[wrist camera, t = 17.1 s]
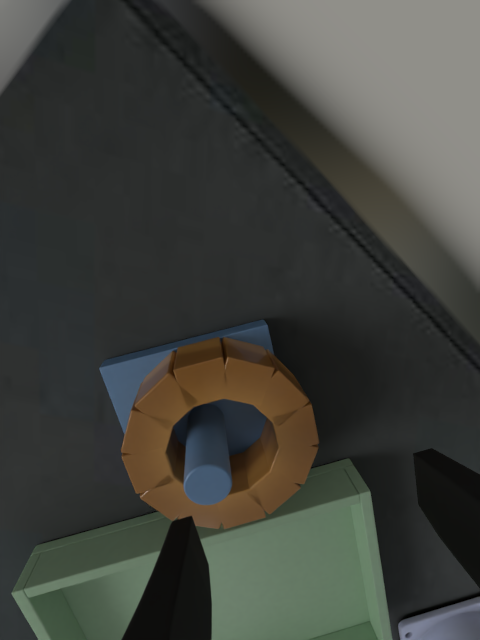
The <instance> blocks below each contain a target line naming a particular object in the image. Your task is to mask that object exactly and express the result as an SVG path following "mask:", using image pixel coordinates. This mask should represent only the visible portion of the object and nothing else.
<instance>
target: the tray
mask: <svg viewBox="0 0 480 640" xmlns="http://www.w3.org/2000/svg"><path fill="white" fill-rule="evenodd" d="M300 486H301V488H300V489H299V490H298V491H297V492H296V493H295V494H294V495H292V496H291V497H290V498H289V499H288V500H287V501H285V502H284V503H283V504H282V505H281V506H280V507H278V508H277V509H276V510H275V511H274V512H272V513H271V514H268V513H267V512H266V511H265V515H266V517H265V518H262V519H259V520H255V521H252V522H248V523H245V524H241V525H238V526H234V527H231V528H227V529H224V528H223V525H222V523H221V526H220V528H219V529H214V528H207V527H200V526H196V529H197V532H198V535H199V538H200V540H201V543H202V546H203V549H204V552H205V555H206V558H207V561H208V564H209V573H210V585H211V598H212V640H392V634H391V627H390V620H389V613H388V607H387V600H386V593H385V587H384V580H383V573H382V566H381V560H380V553H379V546H378V539H377V533H376V526H375V519H374V512H373V506H372V499H371V492H370V490H369V488H368V487H367V485H366V484H365V482H364V481H363V479H362V477H361V476H360V474H359V473H358V471H357V470H356V468H355V467H354V465H353V463H352V462H351V460H350V459H349V458H348V459H344V460H341V461H337V462H333V463H330V464H326V465H323V466H319V467H316V468H312V469H310V471H309V474H308V476H307V479H306V481H305V484H300ZM175 520H177V518H176V519H175ZM171 523H172V521H171V520H170V519H169V518H167V517H166V516H164V515H163V514H162V513H160V512H159V511H158V512H154V513H151V514H147V515H144V516H140V517H136V518H133V519H129V520H126V521H122V522H119V523H115V524H111V525H108V526H104V527H101V528H97V529H93V530H90V531H86V532H83V533H79V534H76V535H72V536H68V537H65V538H61V539H58V540H54V541H50V542H47V543H43V544H40V545H37V546H35V548H34V550H33V552H32V554H31V556H30V558H29V560H28V562H27V564H26V566H25V568H24V570H23V572H22V574H21V576H20V578H19V579H18V581H17V583H16V585H15V587H14V589H13V591H12V595H13V597H14V599H15V600H16V602H17V604H18V606H19V607H20V609H21V611H22V612H23V614H24V616H25V617H26V619H27V621H28V622H29V624H30V626H31V628H32V629H33V631H34V633H35V634H36V636H37V638H38V639H39V640H121V639H122V637H123V635H124V633H125V631H126V629H127V627H128V625H129V623H130V621H131V618H132V616H133V614H134V612H135V610H136V608H137V606H138V604H139V601H140V599H141V597H142V595H143V592H144V590H145V588H146V585H147V583H148V581H149V578H150V576H151V574H152V571H153V569H154V566H155V564H156V561H157V559H158V556H159V554H160V551H161V548H162V546H163V543H164V540H165V538H166V535H167V532H168V529H169V527H170V524H171Z"/></svg>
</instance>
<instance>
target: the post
mask: <svg viewBox="0 0 480 640" xmlns="http://www.w3.org/2000/svg"><path fill="white" fill-rule="evenodd" d="M216 337H219V338H220V341H221V343H222V340H223V337H227V338H231V339H235V340H239V341H243V342H247V343H251V344H255V345H259V346H263V347H264V349H265V350H266V349H268V350H269V351H270V352H271V353H272V354H273V355H274V352H273V347H272V343H271V338H270V334H269V329H268V325H267V324H266V322H265V321H264V320H259V321H255V322H251V323H247V324H243V325H240V326H236V327H232V328H228V329H224V330H220V331H216V332H212V333H208V334H204V335H201V336H197V337H193V338H189V339H185V340H181V341H177V342H173V343H169V344H166V345H162V346H158V347H154V348H150V349H146V350H142V351H138V352H134V353H131V354H127V355H123V356H119V357H115V358H111V359H107V360H105V361H104V362H103V363H102V365H101V366H100V368H99V369H100V372H101V374H102V377H103V379H104V382H105V385H106V387H107V390H108V392H109V395H110V398H111V400H112V403H113V405H114V408H115V411H116V413H117V416H118V418H119V421H120V424H121V426H122V429H123V431H124V434H125V431H126V427H127V423H128V419H129V415H130V411H131V408H132V406H133V403H134V400H135V398H136V395H137V392H138V390H139V387H140V384H141V383H142V382H143V380H144V378H145V377H146V376H147V375H148V374H149V373H150V372H151V371H152V370H153V369H154V368H155V367H156V366H157V365H158V364H159V363H160V362H161V361H162V360H163V359H164V358H165V357H167V356H168V355H169V354H170V353H171V352H172V351H175V352H176V353H177V348H178V347H182V346H185V345H189V344H193V343H197V342H201V341H205V340H208V339H212V338H216ZM266 419H267V417H266V416H265V415H264V414H263V413H261V412H260V411H259V410H258V409H257V408H256V407H255V406H254V405H251V404H247V403H242V402H237V401H233V400H228V399H221V400H218V401H214V402H210V403H207V404H203V405H199V406H195V407H193V408H192V409H191V410H190V411H189V412H188V413H187V414H186V415H185V416H184V417H182V418H181V419H180V420H179V421H178V422H177V423H176V424H175V425H174V426H173V427H174V430H175V433H176V436H177V439H178V441H179V442H180V443H182V444H183V445H184V446H185V447H186V454H185V470H184V485H183V486H184V491H185V494H186V495H187V497H188V498H189V499H190V500H191V501H193V502H194V503H197V504H200V505H213V504H216V503H218V502H220V501H222V500H223V499H225V498H226V497H227V495H228V494H229V492H230V490H231V488H232V476H231V468H230V460H229V456H231V455H235V454H238V453H242V452H244V451H245V450H246V449H248V448H249V447H250V446H251V445H252V444H253V443H254V442H255V441H257V440H258V439H259V438H260V436H261V433H262V430H263V428H264V425H265V422H266Z"/></svg>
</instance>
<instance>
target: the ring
mask: <svg viewBox="0 0 480 640" xmlns="http://www.w3.org/2000/svg"><path fill="white" fill-rule="evenodd" d="M221 399H228V400H233V401H237V402H242V403H247V404H251V405H254V406H255V407H256V408H257V409H258V410H259V411H260V412H261V413H263V414H264V415H265V416H266V417H267V419H266V422H265V425H264V428H263V430H262V433H261V436H260V438H259V439H258V440H257V441H255V442H254V443H253V444H252V445H251V446H250V447H249V448H248V449H246V450H245V451H244V452H242V453H238V454H235V455H231V456H229V460H230V468H231V476H232V488H231V490H230V492H229V494H228V495H227V497H226V498H225V499H223V500H222V501H220V502H218V503H216V504H213V505H200V504H197V503H194V502H193V501H191V500H190V499H189V498H188V497H187V495H186V494H185V491H184V486H183V485H184V470H185V454H186V447H185V446H184V445H183V444H182V443H180V442H179V441H178V439H177V436H176V433H175V430H174V427H173V426H174V425H175V424H176V423H177V422H178V421H179V420H180V419H181V418H182V417H184V416H185V415H186V414H187V413H188V412H189V411H190V410H191V409H192V408H193V407H195V406H199V405H203V404H207V403H210V402H214V401H218V400H221ZM317 444H319V438H318V433H317V428H316V423H315V418H314V413H313V407H312V404H311V403H310V401H309V399H308V397H307V395H306V394H305V392H304V391H303V389H302V387H301V386H300V384H299V383H298V381H297V379H296V378H295V376H294V375H293V374H292V373H291V372H290V371H289V370H288V369H287V368H286V367H285V366H284V365H283V364H282V363H281V362H280V361H279V360H278V359H277V358H276V357H275V356H274V355H273V354H272V353H271V352H270V351H269V350H268V349H266V350H265V349H264V347H263V346H259V345H255V344H251V343H247V342H243V341H239V340H235V339H231V338H227V337H223V340H222V343H221V341H220V338H219V337H216V338H212V339H208V340H205V341H201V342H197V343H193V344H189V345H185V346H182V347H178V348H177V353H176V352H175V351H172V352H171V353H170V354H169V355H168V356H167V357H165V358H164V359H163V360H162V361H161V362H160V363H159V364H158V365H157V366H156V367H155V368H154V369H153V370H152V371H151V372H150V373H149V374H148V375H147V376H146V377H145V378H144V380H143V382H142V383H141V384H140V387H139V390H138V392H137V395H136V398H135V400H134V403H133V406H132V408H131V411H130V415H129V419H128V423H127V427H126V431H125V436H124V440H123V444H122V448H121V452H122V453H123V454H122V459H123V462H124V464H125V467H126V469H127V472H128V474H129V477H130V479H131V482H132V484H133V487H134V489H135V492H136V494H139V493H140V498H141V499H142V500H143V501H145V502H146V503H148V504H149V505H150V506H152V507H153V508H155V509H156V510H157V511H159V512H160V513H162V514H163V515H164V516H166V517H167V518H169V519H170V520H171V521H174V520H175V519H176V518H177V520H178V519H182V518H185V517H189V516H192V517H193V520H194V523H195V526H200V527H207V528H214V529H219V528H220V526H221V523H222V525H223V528H224V529H227V528H231V527H234V526H238V525H241V524H245V523H248V522H252V521H255V520H259V519H262V518H265V517H266V515H265V511H266V512H267V513H268V514H271V513H272V512H274V511H275V510H276V509H277V508H278V507H280V506H281V505H282V504H283V503H284V502H285V501H287V500H288V499H289V498H290V497H291V496H292V495H294V494H295V493H296V492H297V491H298V490H299V489H300V488H301V486H300V484H305V481H306V479H307V476H308V474H309V471H310V469H311V466H312V464H313V461H314V459H315V456H316V454H317V451H318V449H319V447H318V445H317Z"/></svg>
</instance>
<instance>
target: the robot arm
mask: <svg viewBox="0 0 480 640" xmlns="http://www.w3.org/2000/svg"><path fill="white" fill-rule="evenodd" d="M413 455H414V465H415V475H416V485H417V495H418V504H419V506H420V507H421V509H422V511H423V512H424V514H425V515H426V517H427V519H428V520H429V522H430V523H431V525H432V526H433V528H434V530H435V531H436V533H437V534H438V536H439V537H440V538H441V540H442V541H443V542H444V544H445V545H446V546H447V547H448V549H449V550H450V551H451V553H452V554H453V555H454V556H455V558H456V559H457V560H458V561H459V563H460V564H461V565H462V566H463V568H464V569H465V570H466V571H467V573H468V574H469V575H470V576H471V578H472V579H473V580H474V581H475V583H476V584H477V585H478V586H479V588H480V474H478V473H476V472H474V471H472V470H470V469H469V468H467V467H465V466H463V465H461V464H459V463H458V462H456V461H454V460H452V459H450V458H449V457H447V456H445V455H443V454H441V453H439V452H438V451H436V450H434V449H432V448H431V449H427V450H424V451H420V452H417V453H413ZM398 628H399V635H400V640H480V596H479V597H476V598H473V599H469V600H466V601H463V602H459V603H456V604H453V605H450V606H446V607H443V608H440V609H436V610H433V611H430V612H426V613H423V614H420V615H417V616H413V617H410V618H407V619H404V620H402V621H400V623H399V625H398ZM121 640H212V598H211V585H210V573H209V564H208V561H207V558H206V555H205V552H204V549H203V546H202V543H201V540H200V538H199V535H198V532H197V529H196V526H195V523H194V520H193V517H192V516H189V517H185V518H182V519H178V520H174V521H172V523H171V524H170V527H169V529H168V532H167V535H166V538H165V540H164V543H163V546H162V548H161V551H160V554H159V556H158V559H157V561H156V564H155V566H154V569H153V571H152V574H151V576H150V578H149V581H148V583H147V585H146V588H145V590H144V592H143V595H142V597H141V599H140V601H139V604H138V606H137V608H136V610H135V612H134V614H133V616H132V618H131V621H130V623H129V625H128V627H127V629H126V631H125V633H124V635H123V637H122V639H121Z"/></svg>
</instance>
